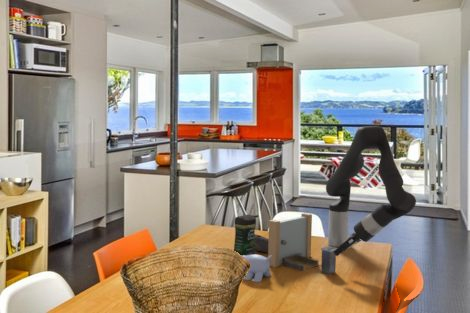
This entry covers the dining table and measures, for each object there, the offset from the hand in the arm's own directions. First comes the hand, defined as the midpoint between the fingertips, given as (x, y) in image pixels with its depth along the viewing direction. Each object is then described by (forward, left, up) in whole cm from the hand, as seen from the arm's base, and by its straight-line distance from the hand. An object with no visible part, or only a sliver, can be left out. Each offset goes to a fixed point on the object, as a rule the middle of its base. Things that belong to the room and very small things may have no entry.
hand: (338, 251), depth 182 cm
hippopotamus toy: (+27, -20, -10) cm, 35 cm away
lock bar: (+1, -4, -9) cm, 10 cm away
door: (+1, -24, -9) cm, 26 cm away
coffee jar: (+12, -41, -9) cm, 44 cm away
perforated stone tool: (0, -41, -10) cm, 42 cm away
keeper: (+3, -16, -9) cm, 19 cm away
